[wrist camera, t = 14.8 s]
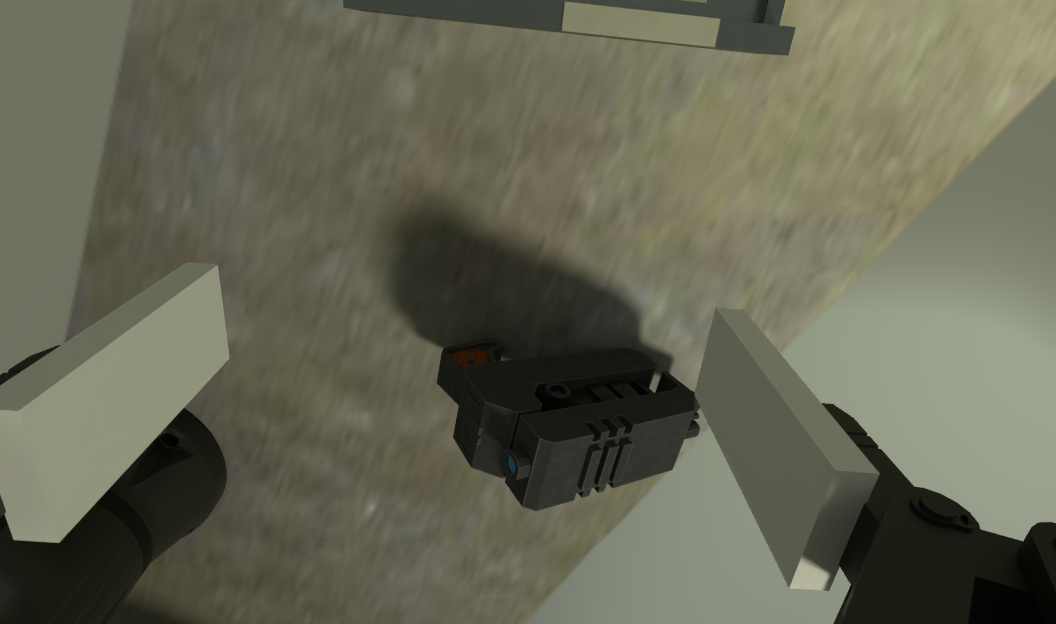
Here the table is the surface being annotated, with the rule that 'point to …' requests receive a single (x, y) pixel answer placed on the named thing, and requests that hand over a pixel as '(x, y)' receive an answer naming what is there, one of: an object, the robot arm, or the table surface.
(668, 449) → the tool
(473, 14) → the tray
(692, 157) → the table surface
